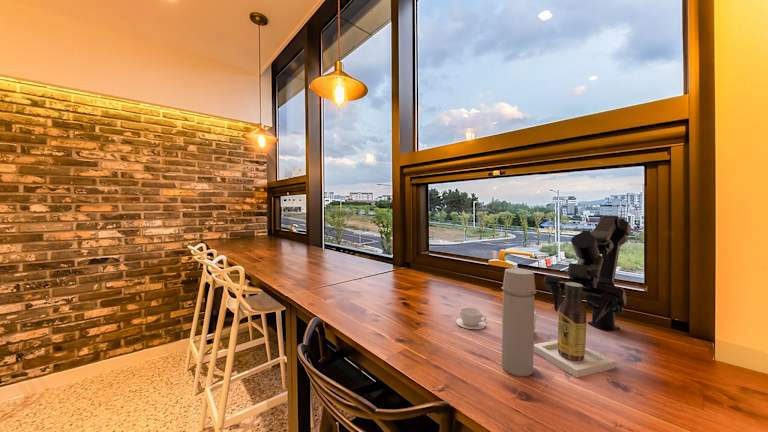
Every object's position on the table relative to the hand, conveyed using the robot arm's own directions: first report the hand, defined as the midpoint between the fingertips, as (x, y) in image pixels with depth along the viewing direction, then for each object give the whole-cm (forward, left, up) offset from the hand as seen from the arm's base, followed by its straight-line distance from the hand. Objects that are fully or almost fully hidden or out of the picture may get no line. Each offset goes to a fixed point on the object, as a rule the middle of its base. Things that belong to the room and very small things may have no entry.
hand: (574, 315), depth 76 cm
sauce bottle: (+2, +1, -11) cm, 11 cm away
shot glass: (+1, -16, -12) cm, 20 cm away
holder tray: (+2, +1, -11) cm, 12 cm away
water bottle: (+19, 0, -12) cm, 22 cm away
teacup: (+14, -27, -12) cm, 32 cm away
